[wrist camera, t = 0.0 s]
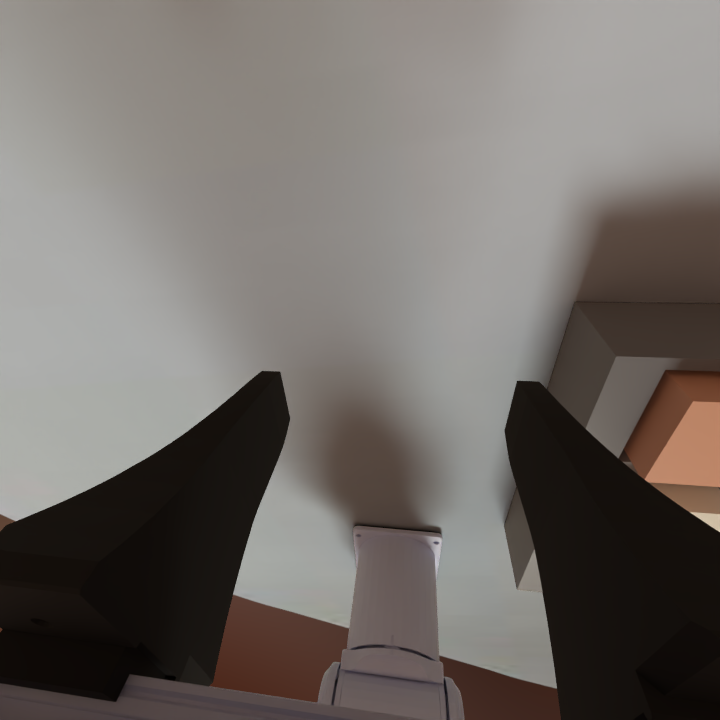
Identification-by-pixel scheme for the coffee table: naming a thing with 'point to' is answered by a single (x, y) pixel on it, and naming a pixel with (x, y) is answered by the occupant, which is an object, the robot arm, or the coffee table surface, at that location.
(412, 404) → the coffee table surface
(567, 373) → the key panel
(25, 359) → the coffee table surface
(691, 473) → the terracotta key
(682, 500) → the cream key
